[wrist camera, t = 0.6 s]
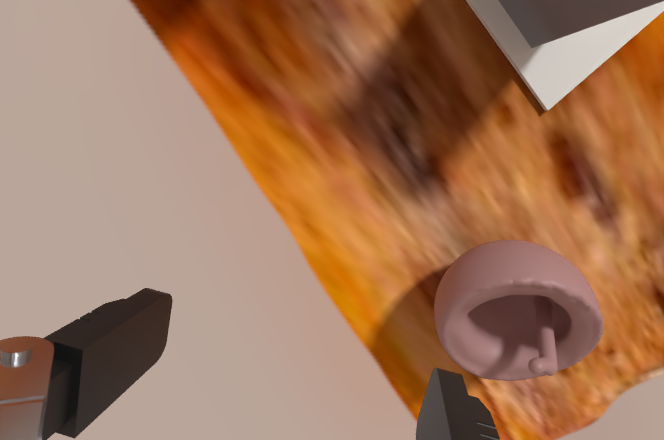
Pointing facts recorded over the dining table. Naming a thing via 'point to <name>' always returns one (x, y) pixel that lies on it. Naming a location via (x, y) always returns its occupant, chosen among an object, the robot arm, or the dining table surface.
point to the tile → (565, 16)
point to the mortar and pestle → (516, 311)
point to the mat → (559, 49)
